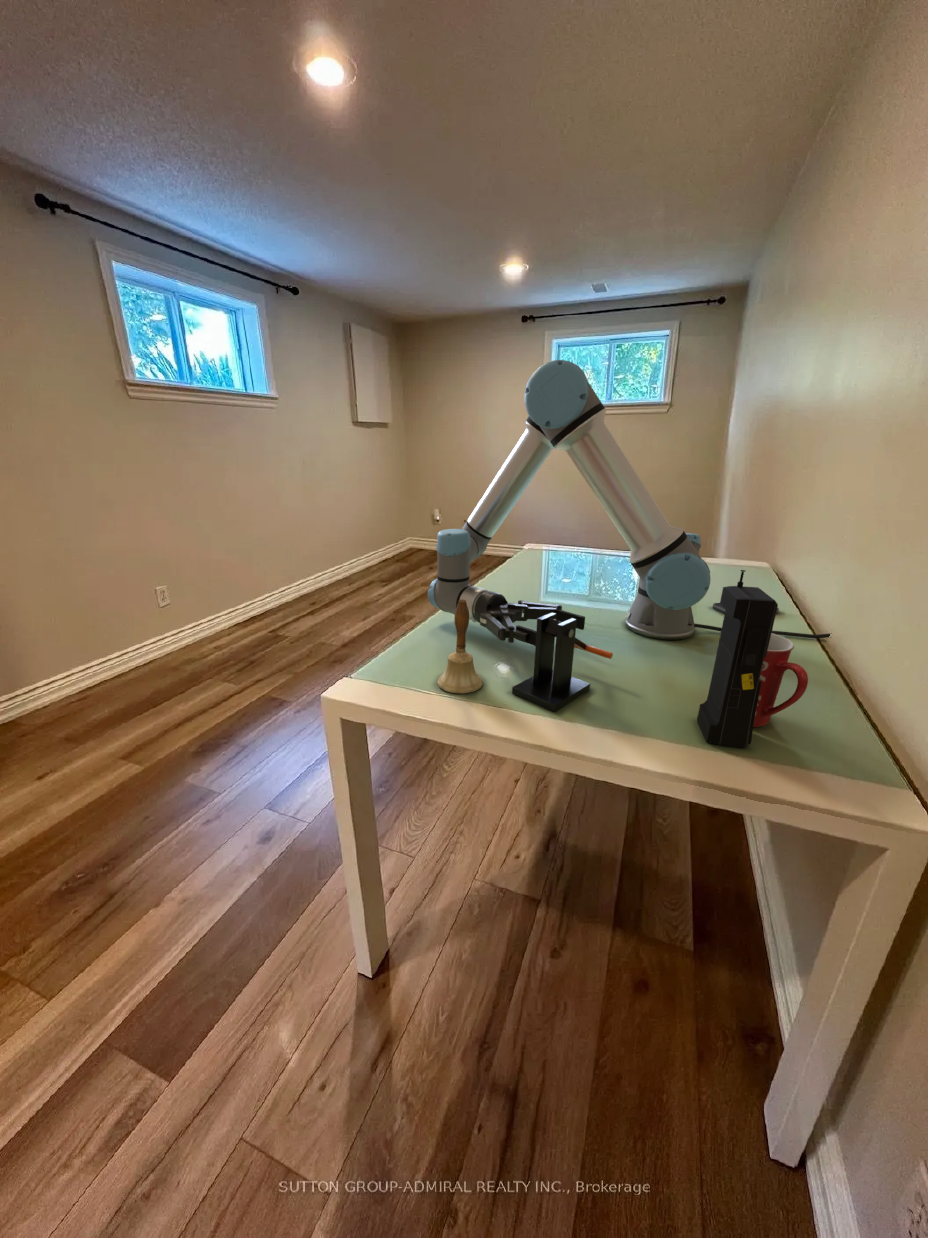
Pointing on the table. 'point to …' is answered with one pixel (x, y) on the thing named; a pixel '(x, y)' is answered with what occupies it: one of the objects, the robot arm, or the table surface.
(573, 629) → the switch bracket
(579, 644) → the switch lever
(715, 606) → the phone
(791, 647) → the mug
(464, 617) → the hand bell
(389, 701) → the table surface
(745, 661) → the portable radio
